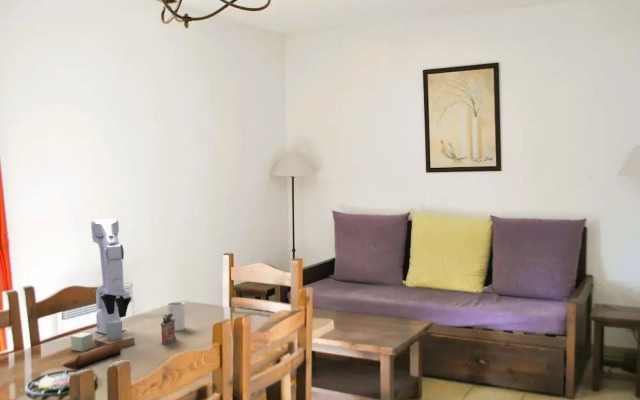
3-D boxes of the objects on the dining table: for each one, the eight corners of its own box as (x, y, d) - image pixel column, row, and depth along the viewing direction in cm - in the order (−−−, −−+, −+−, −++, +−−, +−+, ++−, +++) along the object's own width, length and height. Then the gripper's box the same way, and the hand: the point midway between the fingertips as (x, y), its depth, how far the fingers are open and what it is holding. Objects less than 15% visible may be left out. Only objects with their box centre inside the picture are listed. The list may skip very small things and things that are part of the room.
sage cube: (71, 350, 218) (71, 336, 218) (82, 346, 223) (81, 332, 223) (82, 351, 216) (81, 337, 216) (93, 347, 221) (92, 333, 220)
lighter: (168, 344, 221) (166, 317, 220) (159, 344, 222) (158, 317, 221) (177, 338, 229) (176, 311, 228) (169, 338, 229) (168, 311, 229)
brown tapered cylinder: (104, 350, 216) (110, 335, 214) (116, 363, 213) (123, 348, 211) (59, 366, 200) (66, 350, 198) (73, 379, 197) (79, 363, 195)
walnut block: (94, 347, 222) (93, 339, 222) (119, 341, 230) (118, 333, 230) (109, 352, 216) (109, 344, 215) (134, 345, 223) (134, 337, 223)
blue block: (106, 338, 222) (105, 322, 222) (116, 336, 226) (115, 319, 225) (112, 340, 220) (112, 323, 220) (122, 337, 223) (121, 321, 223)
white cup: (183, 330, 239) (182, 305, 239) (166, 331, 240) (165, 305, 239) (187, 326, 246) (186, 301, 245) (170, 326, 246) (169, 301, 246)
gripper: (94, 278, 225) (95, 315, 225) (116, 282, 215) (117, 320, 216) (111, 275, 230) (113, 311, 231) (133, 278, 221) (135, 316, 222)
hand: (116, 315), depth 224 cm, fingers open, 7 cm apart
